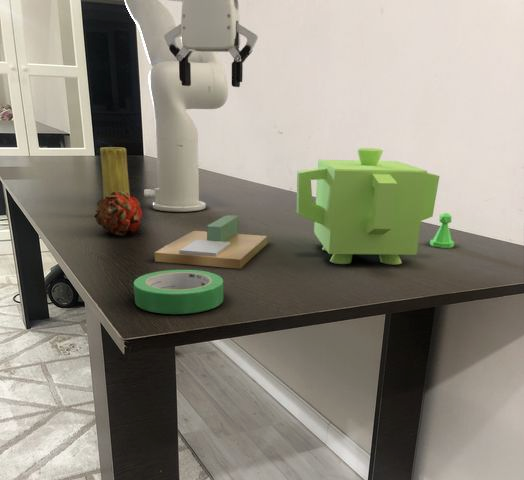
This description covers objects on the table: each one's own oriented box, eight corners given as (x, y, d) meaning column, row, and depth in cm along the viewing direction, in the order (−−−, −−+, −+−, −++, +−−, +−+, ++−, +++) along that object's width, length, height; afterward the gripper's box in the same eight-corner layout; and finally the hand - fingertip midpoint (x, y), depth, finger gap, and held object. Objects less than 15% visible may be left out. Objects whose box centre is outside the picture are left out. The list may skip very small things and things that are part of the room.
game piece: (453, 248, 102) (459, 215, 100) (429, 246, 103) (434, 213, 101) (453, 243, 106) (458, 211, 103) (430, 242, 107) (434, 209, 104)
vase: (118, 220, 119) (112, 149, 113) (97, 217, 122) (91, 147, 116) (138, 216, 124) (134, 148, 118) (118, 213, 127) (113, 146, 121)
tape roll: (126, 292, 74) (124, 273, 72) (205, 284, 78) (205, 265, 77) (147, 320, 64) (146, 298, 63) (236, 308, 69) (236, 287, 68)
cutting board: (154, 261, 89) (154, 252, 88) (194, 238, 105) (193, 230, 104) (240, 269, 86) (240, 259, 85) (267, 244, 102) (267, 236, 101)
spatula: (216, 230, 104) (216, 214, 103) (247, 233, 103) (248, 216, 102) (179, 253, 87) (178, 234, 86) (216, 256, 86) (215, 237, 85)
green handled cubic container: (287, 238, 106) (291, 142, 100) (404, 240, 108) (416, 145, 101) (303, 274, 83) (310, 152, 77) (452, 275, 85) (471, 156, 78)
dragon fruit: (118, 249, 102) (116, 244, 113) (155, 219, 103) (149, 218, 114) (86, 210, 99) (87, 209, 110) (123, 180, 100) (121, 183, 111)
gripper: (263, -20, 99) (260, 87, 106) (171, -18, 103) (174, 86, 109) (252, -29, 92) (250, 86, 99) (154, -27, 96) (159, 84, 103)
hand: (210, 86), depth 104 cm, fingers open, 9 cm apart
